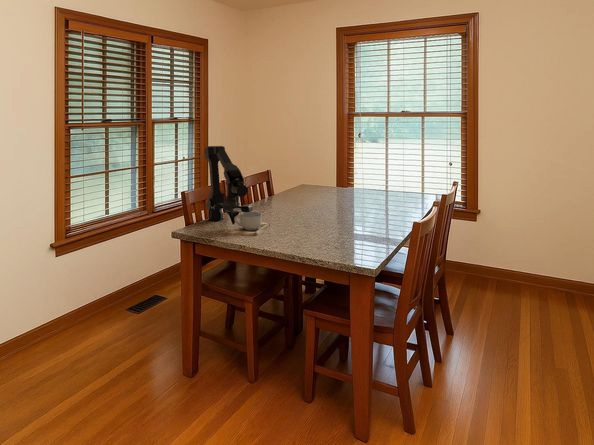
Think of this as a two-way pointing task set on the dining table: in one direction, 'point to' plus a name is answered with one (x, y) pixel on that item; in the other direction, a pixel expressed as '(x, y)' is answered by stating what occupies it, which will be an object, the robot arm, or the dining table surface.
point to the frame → (265, 225)
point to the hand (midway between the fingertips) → (233, 224)
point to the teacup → (249, 220)
